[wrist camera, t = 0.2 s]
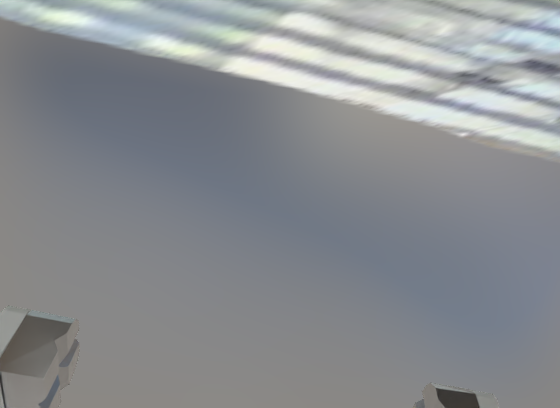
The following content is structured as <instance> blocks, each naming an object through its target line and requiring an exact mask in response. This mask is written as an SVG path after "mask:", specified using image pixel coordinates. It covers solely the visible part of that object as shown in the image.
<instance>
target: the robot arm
mask: <svg viewBox="0 0 560 408" xmlns="http://www.w3.org/2000/svg"><path fill="white" fill-rule="evenodd" d="M78 331H79V322H78V320H77V319H72V318H67V317H62V316H57V315H53V314H48V313H43V312H38V311H34V310H28V309H23V308H17V307H13V306H7V307H6V308H5V309H4V310H3V311H1V313H0V408H58V407H59V405H60V403H61V395H60V390H61V389H63V388H64V387H66V386H67V385H69V383H70V381H71V379H72V376H73V374H74V371H75V368H76V364H77V361H78V356H79V342H78V341H77V340H76V339H75V337H76V335H77V333H78ZM422 393H423V398H424V399H422V400H420V401H418V402H416V403H415V404H414V406H413V408H499V405H498V402H497V399H496V397H495V396H494V395H493V394H490V393H485V392H479V391H473V390H469V389H465V388H459V387H452V386H447V385H441V384H435V383H430V384H428V385H426V387H425V388H424V390H423V391H422Z"/></svg>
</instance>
